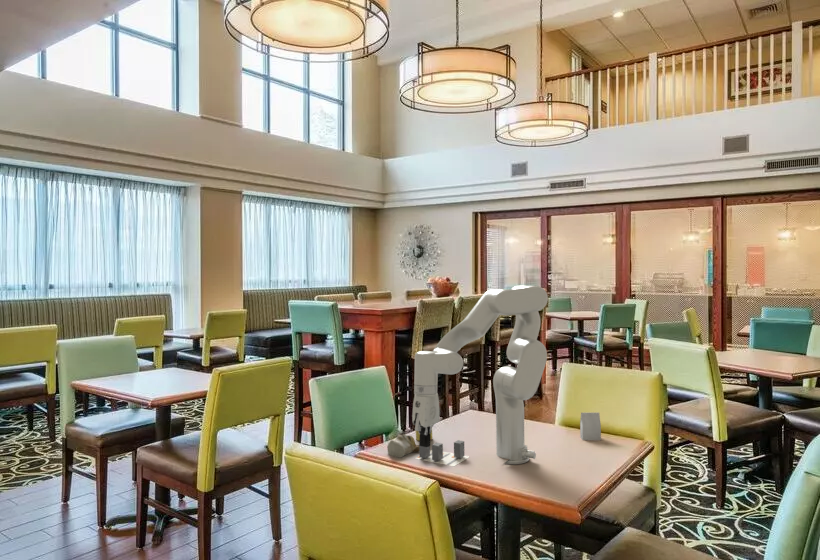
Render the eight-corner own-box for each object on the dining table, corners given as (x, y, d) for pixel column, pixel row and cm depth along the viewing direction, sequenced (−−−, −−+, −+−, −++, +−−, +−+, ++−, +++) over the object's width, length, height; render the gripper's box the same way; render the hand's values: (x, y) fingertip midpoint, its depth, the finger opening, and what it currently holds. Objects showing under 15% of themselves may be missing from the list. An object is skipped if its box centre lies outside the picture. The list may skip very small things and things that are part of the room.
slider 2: (442, 458, 190) (442, 443, 190) (438, 461, 188) (438, 446, 188) (436, 457, 192) (436, 442, 191) (432, 459, 189) (431, 444, 189)
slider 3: (464, 455, 193) (464, 441, 192) (460, 458, 190) (460, 443, 190) (458, 454, 194) (458, 440, 194) (454, 457, 191) (453, 442, 191)
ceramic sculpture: (379, 433, 197) (404, 426, 209) (378, 458, 197) (403, 449, 209) (404, 438, 191) (428, 430, 203) (403, 464, 190) (427, 455, 203)
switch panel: (469, 460, 193) (469, 456, 193) (454, 470, 184) (453, 466, 184) (432, 453, 201) (432, 449, 201) (415, 462, 192) (414, 458, 192)
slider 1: (430, 456, 193) (429, 441, 193) (425, 458, 190) (425, 443, 190) (424, 454, 194) (423, 440, 194) (419, 457, 192) (419, 442, 192)
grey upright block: (600, 440, 214) (600, 413, 214) (582, 440, 215) (582, 413, 215) (598, 437, 218) (597, 411, 218) (580, 437, 218) (580, 411, 218)
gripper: (423, 394, 175) (422, 454, 175) (447, 387, 188) (446, 442, 188) (403, 391, 179) (402, 449, 180) (427, 384, 192) (426, 438, 192)
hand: (424, 445), depth 184 cm, fingers closed
